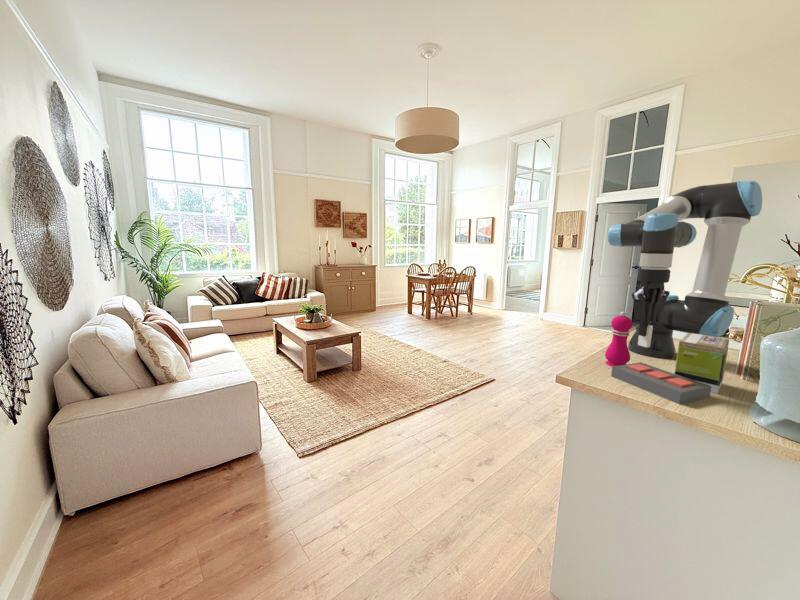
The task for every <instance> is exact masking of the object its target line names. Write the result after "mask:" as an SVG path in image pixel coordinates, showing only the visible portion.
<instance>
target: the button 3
mask: <svg viewBox="0 0 800 600" xmlns="http://www.w3.org/2000/svg"><path fill="white" fill-rule="evenodd" d="M666 382H667V383H669V384H672V385H675V386H678V387H680V388H685V387H690V386H694V383H693V382H690V381H687V380H685V379H682V378H679V377H678V378H673V379H667V380H666Z"/></svg>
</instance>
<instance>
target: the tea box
mask: <svg viewBox="0 0 800 600" xmlns="http://www.w3.org/2000/svg"><path fill="white" fill-rule="evenodd" d="M685 334H686V335H684V336H683V337H682V338H681V340H679V341H678V346H677V352H676V360H675V367H674V372H673V373H674V374H677V375H680V376H683V377H686V378H689V379H691V380H694V381H697V382H700V383H703V384H706V385H709V386H712V387H711V392H710V394H711V393H712V394H716V395H717V394H718V393H719V391H720V388H721V386H722V384H723V381H724V375H725V368H726V362H727V357H728V351H729V344H730V343H729V342H730V339H729V338H727V337H721V336H720V337H714V336H708V335H700V334H693V333H685Z"/></svg>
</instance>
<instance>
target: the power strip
mask: <svg viewBox="0 0 800 600" xmlns="http://www.w3.org/2000/svg"><path fill="white" fill-rule="evenodd" d="M637 364H641V365H644V366H647V367H650V368H652V371H648V372H653V371H660V372H663V373H666V374H669V375H672V378H669V379H673V378H678V377H679V378H682V379H685V380H687V381H690V382H693V383H694V386H690V387H685V388H680V387H678V386H675V385H672V384H669V383H667V382H666V380H667V379H663V380H658V379H656V378H653V377H650V376H648V375H646V373H647V372H642V373H639V372H637V371H634V370H631V369H628V368H627V367H628V366H630V365H637ZM610 373H611V375H610V377H612V378H614V379H616V380H619V381H621V382H624V383H626V384H629V385H631V386H634V387H636V388H639V389H641V390H643V391H645V392H649V393H651V394H653V395H655V396H657V397H660V398H663V399H666V400H668V401H671V402H673V403H676V404H678V405H681V404H686V403H690V402H691V403H692V402H695V401H699V400H705V399H709V398H710V397H711V387H712V386H709V385H706V384H703V383H700V382H697V381H694V380H691V379H689V378H686V377H683V376H680V375H677V374H674V373H675V372H671V371H668V370H665V369H661V368H658V367H656V366H652V365H649V364H646V363H644V362H642V361H641V362H634V363H628V364H627V363H626V365H619V366H613V367H612V366H611V372H610Z"/></svg>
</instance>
